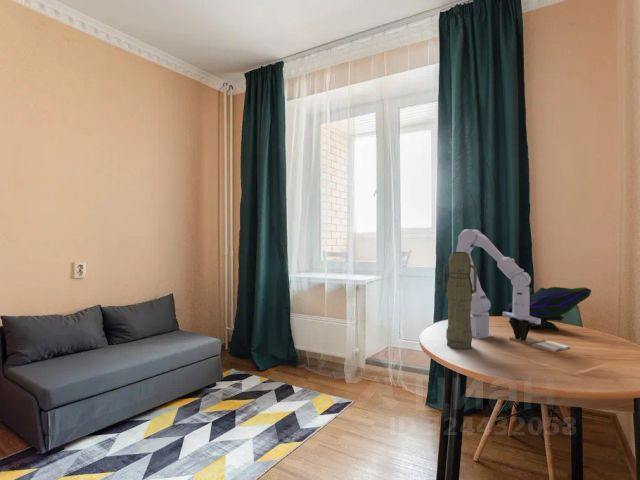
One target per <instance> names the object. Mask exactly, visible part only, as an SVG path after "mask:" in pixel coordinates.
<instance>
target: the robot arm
mask: <svg viewBox="0 0 640 480" xmlns="http://www.w3.org/2000/svg"><path fill="white" fill-rule="evenodd" d="M457 239H458V241H457V245H456V250H455V252H466V253H468V254H469V257H470V260H471V265H474V261H473V258H472V255H471V253H472V251H473V249H474V248H475V247H478V248H482V249H483V250H485V252H486V253H488V255H490V257H492V258H493V259H494V260H495V262H497V264H496V265H497V268H499V270H500V271H501V272H502V273H503V274H504V275H505V276H506V278H508V279H509V280H510V282H511V286H512V303H513V313H510V312H506V311H502V315H501V317H502V318H511V320H510V319H509V320H508V323H509V324H510V327H511V329H512V330H513V333H514V334H513V335H514V337H515V339H519V338H520V337H521V340H526V338H527V335H528V334H529V332H530V330H531V328H532V326H534V325H533V323H535V324H541V319H539V318H536V317H532V316H530V315H529V304H530V295H531V294H530V293H529V289H530V284H531V282H532V278H531V276H530V274H529V273H528V272H525V269H523V268H521V267H520V266H519V265H518V264H517V263H516V262H515V261H516V260H515V259H514V258H511V257H510V256H504V255H503V254H502V253H501V252H500V250H498V248H497V247H496V245H494V244H493V242H491V240H490V239H489V238H488V237H487V236H486V235H485V234H483V233H482V232H481V231H480V230H479V229H470V228H465V229H464V230H462V231H461V232H460V234H459V235H458V236H457ZM474 266H475V265H474ZM470 280H471V283H472V290H473V291H474V270H473V268H472V267H471V273H470ZM481 286H482V285H481V283H480V280H479V276H478V275H477V284H476V292H475V293H474V294H472V301H471V330H472V338H474V339H475V338H476V339H484V338H490V337H494V334H491V333H490V312H489V310H490V309H491V307H492V304H491V301H490V299H489V298H488V296H486V293H485V292H484V290H483V289H482V287H481Z"/></svg>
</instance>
